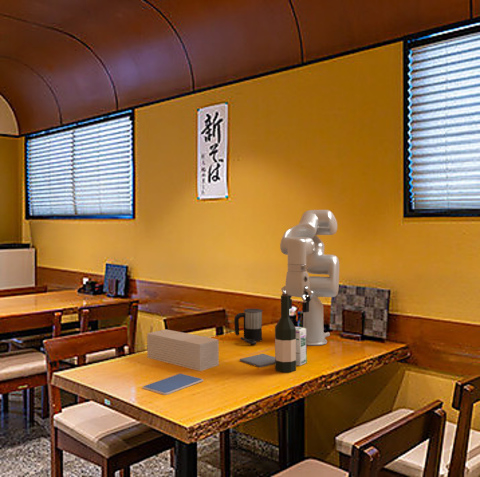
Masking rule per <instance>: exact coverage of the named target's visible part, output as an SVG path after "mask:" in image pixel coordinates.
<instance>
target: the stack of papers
mask: <svg viewBox="0 0 480 477" xmlns="http://www.w3.org/2000/svg"><path fill="white" fill-rule="evenodd" d="M146 335H147V336H146V338H147V340H146V341H147V344H146V346H147V350H146V351H147V358H148V359H151V360H155V361H160V362H164V363H167V364H171V365H175V366H178V367H182V368H186V369H191V370H194V371H198V372H203V371H204V370H208V369H212V368H214V367H217V366H220V364H219V362H220V361H219V356H220V355H219V350H220V349H219V348H220V347H219V346H220V345H219V343H220V342H219V339H218V338H217V339H216V338H211V337H208V336H204V335H203V336H202V335H199V334H198V335H197V334H192V333H188V332H187V333H186V332H183V331H178V330H177V331H176V330H171V329H162V330H156V331H152V332H147V333H146Z"/></svg>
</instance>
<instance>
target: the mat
mask: <svg viewBox="0 0 480 477" xmlns="http://www.w3.org/2000/svg"><path fill="white" fill-rule="evenodd" d="M239 361H240V362H242V363H246V364H248V365H250V366H251V365H252V366H254V365H255V366H254V367H257V368H264V367H268V366H271V365H275V356H272V355H268V354H266V353H259V354H256V355H251V356H247V357H242V358H239Z"/></svg>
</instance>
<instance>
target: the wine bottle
mask: <svg viewBox="0 0 480 477" xmlns="http://www.w3.org/2000/svg"><path fill="white" fill-rule="evenodd" d="M295 327H296V326H295V325H294V323H293V321H292V319H291V317H290V309H289V295H288V293H281V295H280V318H279V319H278V321H277V322H276V325H274V352H275V353H274V357H275V364H274V367H275V368H274V369H275V371H276V372H278V373H284V374H285V373H286V374H287V373H288V374H289V373H294V372H295V371H296V370H297V365H296V328H295Z"/></svg>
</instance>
